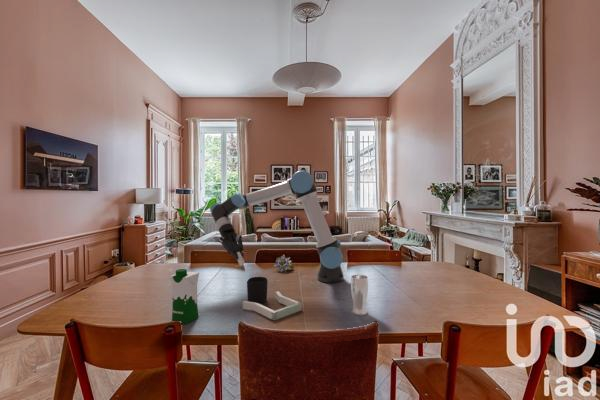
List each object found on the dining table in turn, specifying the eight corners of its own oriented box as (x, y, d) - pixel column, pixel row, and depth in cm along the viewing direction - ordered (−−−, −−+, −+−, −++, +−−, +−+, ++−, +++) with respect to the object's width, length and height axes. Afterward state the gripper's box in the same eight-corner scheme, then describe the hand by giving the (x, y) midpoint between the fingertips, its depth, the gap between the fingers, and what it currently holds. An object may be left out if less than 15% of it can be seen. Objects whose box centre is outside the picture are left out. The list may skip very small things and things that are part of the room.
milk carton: (168, 322, 112) (167, 270, 112) (184, 313, 121) (184, 265, 121) (186, 325, 110) (186, 272, 109) (202, 316, 118) (201, 267, 118)
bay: (241, 308, 126) (241, 301, 126) (277, 297, 140) (277, 291, 140) (268, 322, 112) (268, 314, 112) (305, 308, 126) (305, 301, 126)
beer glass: (349, 309, 124) (349, 274, 124) (365, 309, 125) (365, 274, 125) (353, 316, 117) (353, 279, 117) (370, 315, 118) (370, 278, 118)
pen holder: (271, 300, 135) (271, 279, 135) (255, 306, 128) (255, 283, 128) (258, 296, 142) (258, 275, 142) (242, 301, 135) (242, 279, 135)
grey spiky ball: (282, 280, 187) (270, 265, 185) (283, 272, 198) (272, 258, 196) (296, 270, 186) (285, 256, 184) (296, 263, 197) (286, 249, 195)
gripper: (233, 230, 162) (250, 266, 150) (211, 232, 153) (227, 270, 141) (238, 222, 158) (256, 257, 146) (216, 223, 149) (233, 261, 137)
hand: (242, 264), depth 143 cm, fingers closed
